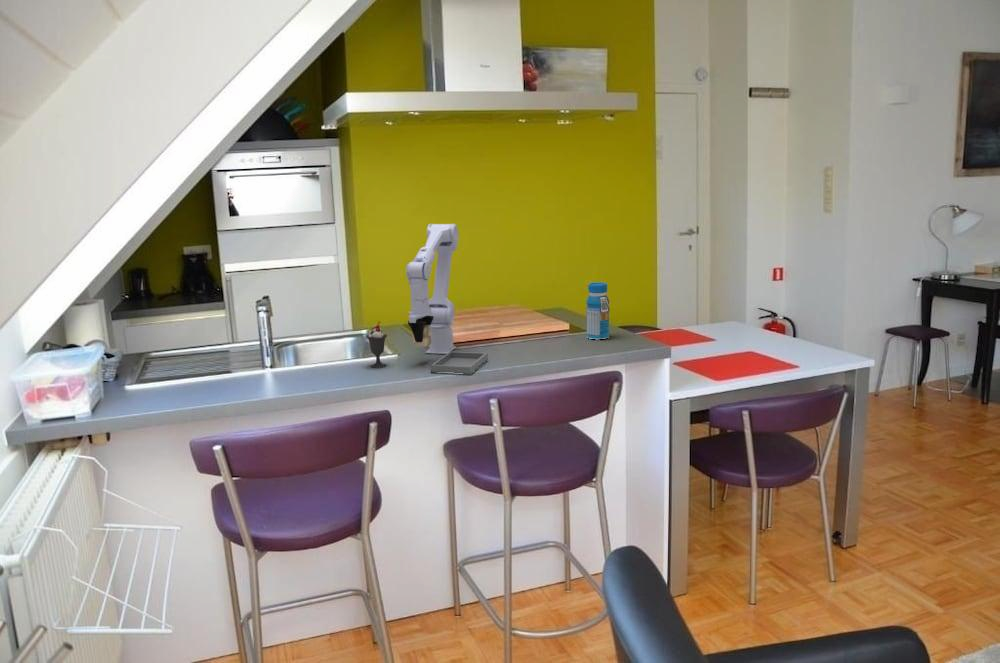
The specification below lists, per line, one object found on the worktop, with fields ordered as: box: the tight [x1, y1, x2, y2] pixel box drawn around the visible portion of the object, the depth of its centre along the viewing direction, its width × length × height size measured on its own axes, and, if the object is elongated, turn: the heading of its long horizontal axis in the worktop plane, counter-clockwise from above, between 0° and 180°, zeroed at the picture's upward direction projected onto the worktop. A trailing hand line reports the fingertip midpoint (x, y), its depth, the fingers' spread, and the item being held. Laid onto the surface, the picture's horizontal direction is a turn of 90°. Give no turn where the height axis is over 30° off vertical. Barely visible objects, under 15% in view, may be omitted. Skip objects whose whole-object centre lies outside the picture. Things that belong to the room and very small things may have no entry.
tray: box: [430, 351, 489, 376], centre depth 250 cm, size 18×13×2 cm
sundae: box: [365, 321, 388, 369], centre depth 252 cm, size 7×7×15 cm
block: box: [411, 325, 431, 347], centre depth 254 cm, size 4×4×6 cm
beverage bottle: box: [585, 281, 611, 340], centre depth 282 cm, size 8×8×20 cm
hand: (421, 340), depth 254 cm, fingers closed on block, 4 cm apart
